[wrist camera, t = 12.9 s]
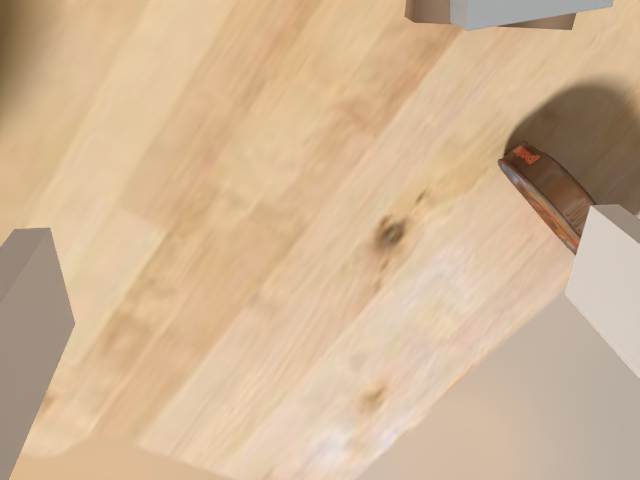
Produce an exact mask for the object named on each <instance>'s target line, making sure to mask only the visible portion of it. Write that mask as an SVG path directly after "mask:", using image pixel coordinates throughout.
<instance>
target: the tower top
mask: <svg viewBox="0 0 640 480" xmlns="http://www.w3.org/2000/svg"><path fill="white" fill-rule="evenodd" d="M612 6H613V0H450V23H452V24H454V25H456V26H458V27H461V28H463V29H465V30H467V31H470V30H476V29H482V28H488V27H494V26H500V25H506V24H512V23H518V22H524V21H529V20H535V19H541V18H547V17H553V16H559V15H565V14H571V13H577V12H583V11H589V10H595V9H601V8H606V7H612Z"/></svg>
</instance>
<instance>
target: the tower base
mask: <svg viewBox="0 0 640 480" xmlns="http://www.w3.org/2000/svg"><path fill="white" fill-rule="evenodd" d="M575 16H576V13H571V14H565V15H559V16H553V17H547V18H541V19H535V20H529V21H524V22H518V23H512V24H506V25H500V26H499V27H520V28H541V29H563V30H572V27H573V23H574V20H575ZM405 17H406V18H408V19H409V20H411V21H413V22H415V23H436V24H452V23H450V0H407V1H406V9H405Z"/></svg>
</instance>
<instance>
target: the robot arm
mask: <svg viewBox="0 0 640 480" xmlns="http://www.w3.org/2000/svg"><path fill="white" fill-rule="evenodd" d="M565 295H566V296H567V297H568V298H569V299H570V301H571V302H572V303H573V304H574V305H575V306H576V307H577V309H578V310H579V311H580V312H581V313H582V314H583V315H584V317H585V318H586V319H587V320H588V321H589V322H590V323H591V324H592V326H593V327H594V328H595V329H596V330H597V331H598V332H599V334H600V335H601V336H602V337H603V338H604V339H605V340H606V341H607V343H608V344H609V345H610V346H611V347H612V348H613V349H614V351H615V352H616V353H617V354H618V355H619V356H620V357H621V358H622V359H623V361H624V362H625V363H626V364H627V365H628V366H629V367H630V369H631V370H632V371H633V372H634V373H635V374H636V375H637V377H638V378H639V379H640V219H638V218H637V217H635V216H634V215H633V214H631V213H630V212H629V211H627V210H626V209H624V208H623V207H622V206H620V205H619V204H610V205H591V206H590V209H589V213H588V216H587V219H586V223H585V226H584V230H583V233H582V236H581V240H580V243H579V247H578V250H577V254H576V257H575V260H574V264H573V267H572V271H571V274H570V277H569V281H568V284H567V288H566V291H565ZM74 325H75V321H74V318H73V314H72V310H71V306H70V302H69V298H68V295H67V291H66V287H65V283H64V279H63V275H62V272H61V268H60V264H59V260H58V256H57V253H56V249H55V245H54V241H53V237H52V233H51V230H50V228H31V229H14V230H13V232H12V233H11V234H10V236H9V237H8V238H7V240H6V241H5V242H4V243H3V245H2V246H1V247H0V480H9V477H10V475H11V473H12V471H13V468H14V466H15V464H16V461H17V459H18V457H19V454H20V452H21V450H22V447H23V445H24V442H25V440H26V438H27V435H28V433H29V431H30V428H31V426H32V424H33V421H34V419H35V417H36V414H37V412H38V410H39V407H40V405H41V403H42V400H43V398H44V396H45V393H46V391H47V389H48V386H49V384H50V382H51V379H52V377H53V375H54V372H55V370H56V368H57V365H58V363H59V361H60V358H61V356H62V354H63V351H64V349H65V346H66V344H67V342H68V339H69V337H70V335H71V332H72V330H73V328H74Z"/></svg>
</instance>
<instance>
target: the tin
mask: <svg viewBox="0 0 640 480" xmlns="http://www.w3.org/2000/svg"><path fill="white" fill-rule="evenodd" d="M498 165H499V167H500V168H501V170H502V171H503V173H504V174H505V175H506V176H507V177H508V179H509V180H510V181H511V182H512V184H513V185H514V186H515V187H516V188H517V189H518V191H519V192H520V193H521V194H522V195H523V196H524V198H525V199H526V200H527V201H528V202H529V204H530V205H531V206H532V207H533V208H534V209H535V211H536V212H537V213H538V214H539V215H540V217H541V218H542V219H543V220H544V221H545V223H546V224H547V225H548V226H549V227H550V228H551V230H552V231H553V232H554V233H555V234H556V235H557V236H558V237H559V239H561V241H562V242H563V243H564V244H565V245H566V246H567V247H568V248H569V249H570V250H571V251H572V252H573V253H574V254H575V255H576V254H577V250H578V247H579V243H580V240H581V236H582V233H583V230H584V226H585V223H586V219H587V216H588V213H589V209H590V206H591V205H597V204H596V203H595V202H594V200H593V199H592V198H591V197H590V195H589V194H588V193H587V192H586V190H585V189H584V188H583V187H582V186H581V185H580V184H579V183H578V182H577V180H576V179H575V178H574V177H573V176H572V175H571V174H570V173H569V172H568V171H567V170H566V169H564V168H563V167H562V166H561V165H560V164H559V163H558V162H557V161H555V160H554V159H553V158H552V157H550V156H549V155H547V154H545V153H543V152H541V151H539V150H537V149H536V148H534V147H532V146H531V145H529V144H528V143H527V142H525V141H523V142H521V143H520V144H519V145H517V146H516V147H515V148H514V149H512V150H511V151H510V152H509V153H508V154H507V155H506V156H505V157H503V158H502V159H499V160H498Z"/></svg>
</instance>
